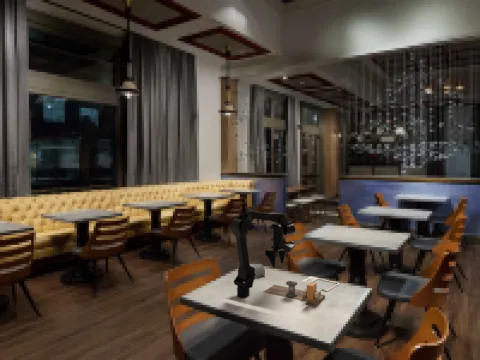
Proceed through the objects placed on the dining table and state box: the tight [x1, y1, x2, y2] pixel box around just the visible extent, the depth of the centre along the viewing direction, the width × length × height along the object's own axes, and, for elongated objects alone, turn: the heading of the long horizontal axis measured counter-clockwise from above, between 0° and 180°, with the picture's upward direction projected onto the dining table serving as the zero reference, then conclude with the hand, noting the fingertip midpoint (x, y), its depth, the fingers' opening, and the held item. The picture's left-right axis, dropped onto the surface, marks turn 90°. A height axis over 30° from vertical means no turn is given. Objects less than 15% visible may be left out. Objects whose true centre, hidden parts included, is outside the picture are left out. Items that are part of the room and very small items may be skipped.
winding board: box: [263, 280, 326, 308], centre depth 171 cm, size 12×28×8 cm, turn 56°
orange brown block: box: [306, 281, 318, 301], centre depth 165 cm, size 3×5×7 cm, turn 147°
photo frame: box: [300, 276, 341, 293], centre depth 188 cm, size 15×1×18 cm
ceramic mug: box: [251, 263, 266, 280], centre depth 198 cm, size 11×8×8 cm
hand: (278, 265), depth 183 cm, fingers open, 9 cm apart
